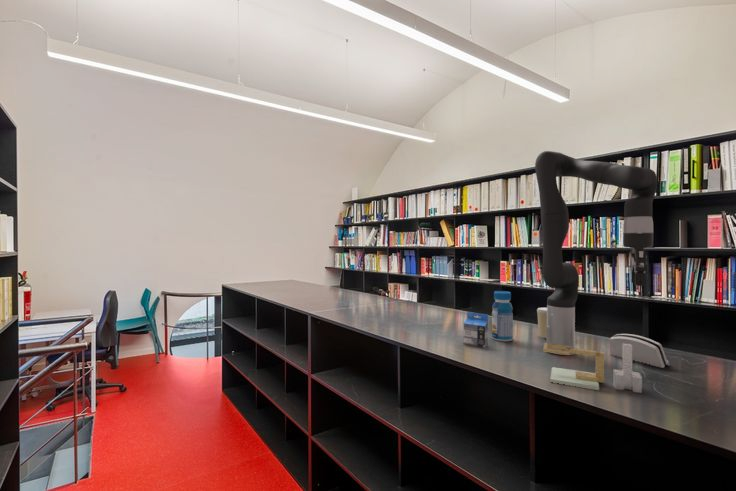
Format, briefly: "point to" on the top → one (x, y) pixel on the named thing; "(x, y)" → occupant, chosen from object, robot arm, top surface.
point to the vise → (627, 373)
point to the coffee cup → (542, 322)
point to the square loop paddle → (598, 355)
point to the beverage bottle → (502, 316)
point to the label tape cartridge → (476, 329)
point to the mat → (571, 378)
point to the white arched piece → (639, 349)
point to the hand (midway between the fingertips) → (637, 284)
